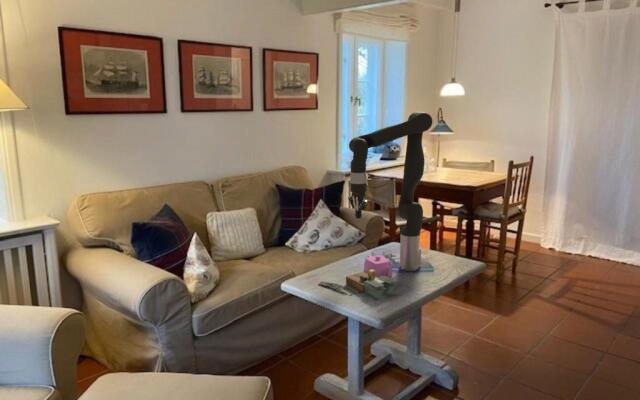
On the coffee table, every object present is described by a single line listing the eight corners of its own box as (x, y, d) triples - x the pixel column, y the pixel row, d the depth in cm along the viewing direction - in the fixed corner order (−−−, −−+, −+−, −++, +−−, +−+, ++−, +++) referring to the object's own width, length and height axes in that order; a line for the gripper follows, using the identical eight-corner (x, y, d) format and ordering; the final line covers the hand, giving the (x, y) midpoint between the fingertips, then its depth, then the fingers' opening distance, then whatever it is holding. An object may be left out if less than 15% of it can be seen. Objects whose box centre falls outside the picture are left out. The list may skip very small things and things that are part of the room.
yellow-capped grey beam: (372, 279, 214) (372, 269, 213) (384, 285, 207) (385, 274, 206) (368, 280, 213) (368, 270, 212) (380, 286, 206) (380, 276, 205)
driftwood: (316, 285, 221) (316, 281, 220) (326, 281, 226) (326, 277, 225) (350, 299, 207) (350, 294, 206) (360, 294, 211) (360, 289, 211)
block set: (365, 279, 226) (365, 267, 224) (396, 294, 209) (396, 281, 207) (346, 284, 220) (346, 272, 218) (376, 300, 203) (376, 287, 201)
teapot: (398, 281, 223) (398, 260, 220) (378, 285, 218) (378, 264, 216) (377, 269, 239) (378, 249, 236) (359, 272, 234) (359, 252, 232)
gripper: (374, 182, 221) (373, 219, 225) (355, 178, 232) (355, 214, 236) (361, 184, 217) (361, 222, 221) (343, 180, 228) (343, 216, 232)
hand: (358, 218), depth 229 cm, fingers closed
